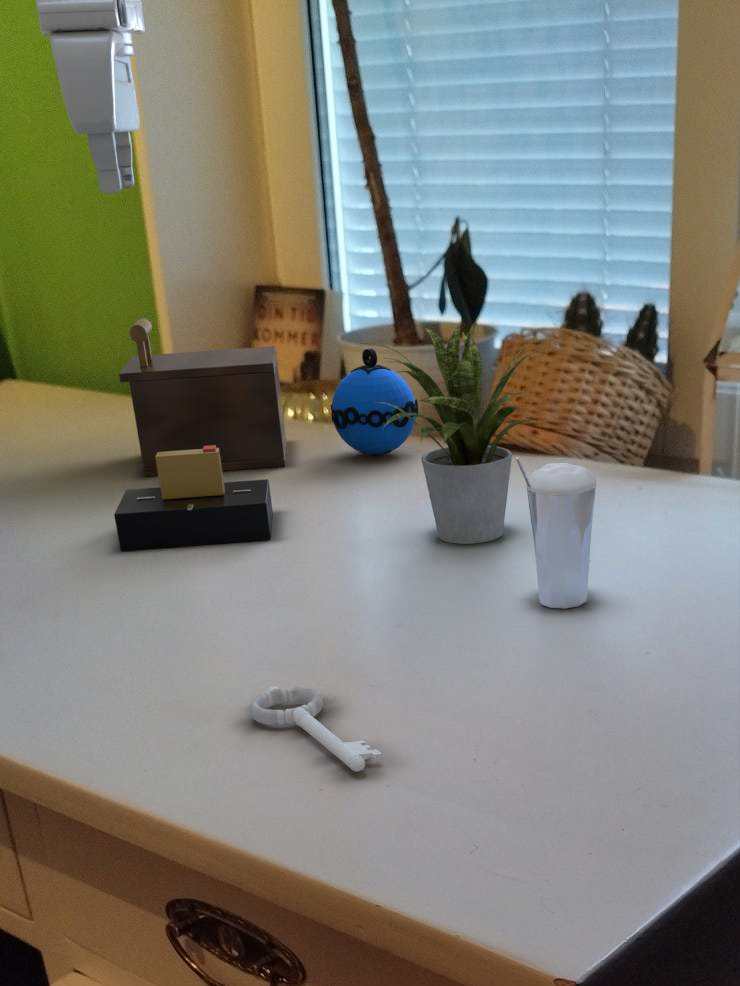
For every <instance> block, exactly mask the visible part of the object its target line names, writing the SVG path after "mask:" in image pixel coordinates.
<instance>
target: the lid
mask: <svg viewBox="0 0 740 986" xmlns="http://www.w3.org/2000/svg"><path fill="white" fill-rule="evenodd" d="M152 330H153V325H152V323H151V321H150V320H149V319H147V318H146V317H140V318H138V319H137V320H136V321H135V322H134V323H133V325H132V326H131V327H130V329H129V337H130V339H131V340H132V341H133V342H135V345H136V350H137V351H136V352H137V355H131V357H130V359H128V361H127V362H126V364H125V365H124V366H123V368H121V370H120V372H119V373H118V376H119V382H120V383H129V382H135V381H149V380H163V379H177V378H192V377H206V376H220V375H234V374H248V373H262V372H274V369H275V361H276V356H277V347H276V346H261V347H260V346H259V347H243V348H229V349H216V350H200V351H185V352H172V353H156V354H152V349H151V342H150V334H151V333H152Z"/></svg>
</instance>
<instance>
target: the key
mask: <svg viewBox="0 0 740 986" xmlns="http://www.w3.org/2000/svg"><path fill="white" fill-rule="evenodd" d="M288 701H289V702H291V703H306V704H302V705H299V706H296V707H292V708H286V709H285V710H282V709H270V708H271V707H272V706H276V705H279V704H287V702H288ZM323 704H324V699H323V697H322V695H321V694H320V692H318V691H317V690H314V688H309V687H302V686H291V687H288V688H286V687H281V688H279V687H277V686H273V685H272V686H270V687H268V688H267V690H266V691H265V692H264V693H262V694H259V695H257V696H255V697H254V698H253V699H252V701H250V704H249V707H248V708H249V714H250V717H251V718H252V719H253V720H254V721H255V722H257V723H259V724H262V725H268V726H282V725H285V724H287V725H292V724H293V725H294V724H296V725H297V726H298V727H300V728H302V729H303V730H304V731H306V732H307V733H308V734H309V735H310V736H312V738H314V739H315V740H316V741H317V742H319V744H321V745H322V746H323V747H325V749H327V750H328V751H329V752H330V753H332V754H333V755H334V756H335V757H336V758H338V759H339V760H340V761H341V762H342V763H343V764H345V765H346V766H347V767H348V768H349V769H350V770H352V771H353V772H357V773H358V772H361V771H363V770H364V769H365V766H366V761H365V760H367V759H369V758H373V759H376V758H380V757H382V756H383V753H382V752H380V751H379V750H378V749H377V748H374V749H372V746H370V745H369V744H367V742H366V741H365V740H364V739H362V740H357V741H347V742H343V740H341V739H340V738H339V737H338V736H337V735H335V734H334V733H333V732H331V730H329V729H328V728H327V727H326V726H325V725H323V723H321V722H320V721H319V720H317V719H316V718H315V717H316V716H317V715H318V714H319V713H320V712H321V711H322V708H323ZM269 707H270V708H269ZM267 708H269V709H267Z"/></svg>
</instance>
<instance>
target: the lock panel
mask: <svg viewBox="0 0 740 986" xmlns="http://www.w3.org/2000/svg"><path fill="white" fill-rule="evenodd" d="M224 486H225V492H224V495H220V496H206V497H192V498H179V499H165V500H163V499H162V494H161V488H160V486H157V487H143V488H141V487H140V488H130V489H125V491H124V493H123V495H122V497H121V500H120V501H119V504H118V505H117V508H116V509H115V511H114V513H113V517H114V522H115V528H116V533H117V539H118V543H119V550H120V551H121V552H127V551H140V550H141V551H142V550H151V549H166V548H179V547H190V546H191V547H192V546H193V547H194V546H206V545H217V544H219V545H220V544H231V543H244V542H254V541H255V542H257V541H268V540H269V541H270V540H271V539H272V529H273V528H272V527H273V516H274V512H273V506H272V505H273V502H272V496H271V487H270V480H269V479H268V478H267V479H265V478H264V479H255V480H253V479H252V480H240V481H239V480H238V481H224Z"/></svg>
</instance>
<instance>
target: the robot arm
mask: <svg viewBox="0 0 740 986" xmlns="http://www.w3.org/2000/svg"><path fill="white" fill-rule="evenodd" d="M35 4H36V10H37V11H36V12H37V17H38V23H39V28H40V33H41V36H43V37H47V38H49V42H50V48H51V52H52V57H53V60H54V64H55V65H54V66H55V69H56V73H57V78H58V82H59V86H60V90H61V94H62V98H63V102H64V107H65V110H66V114H67V116H68V120H69V122H70V125H71V127H72V130H73V131H74V133H75V134H76V135H87V140H88V146H89V147H88V148H89V152H90V154H91V157H92V161H93V164H94V166H95V170H96V174H97V180H98V186H99V190H100V191H101V193H103V194H118V193H120V192H121V191H122V190H123V189H131V188H133V187H134V186H135V178H134V176H135V175H134V170H133V144H132V138H131V132H138V131H140V112H139V106H138V105H139V104H138V99H137V94H136V93H137V92H136V87H135V86H136V85H135V82H134V81H135V80H134V75H133V69H132V65H131V58H130V57H133V56H134V55H135V50H134V46H133V45H134V44H133V38H132V36H134V35H140V34H145V32H146V25H145V18H144V10H143V3H142V0H35Z"/></svg>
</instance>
